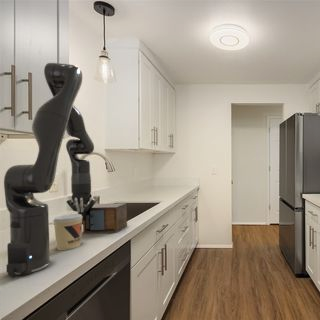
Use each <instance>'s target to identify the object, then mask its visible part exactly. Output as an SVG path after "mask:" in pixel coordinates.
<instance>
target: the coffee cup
mask: <svg viewBox="0 0 320 320" xmlns="http://www.w3.org/2000/svg"><path fill="white" fill-rule="evenodd" d="M53 226H54V235H55V244H56V249H57V250H59V251H66V250H72V249H76V248H77V247H80V246H81V243H82V232H83V221H82V215H81V214H78V213H70V214H63V215H59V216H56V217H55V218H54V219H53Z"/></svg>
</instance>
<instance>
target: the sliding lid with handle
mask: <svg viewBox="0 0 320 320" xmlns="http://www.w3.org/2000/svg"><path fill="white" fill-rule="evenodd" d="M89 218H90V225H89ZM89 227H90V230H105V216H104V210H90V216H89V215H88V216H86V229H89Z"/></svg>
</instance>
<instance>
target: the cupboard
mask: <svg viewBox="0 0 320 320" xmlns="http://www.w3.org/2000/svg"><path fill="white" fill-rule="evenodd" d="M127 205H128V204H127V202H124V203H123V202H122V203H121V202H119V203H95V204H94V205H93V207H92V208H91V209H90V210H104V216H105V230H90V227H89V229H86V219H85V220H83V221H82V233H83V234H111V233H112V234H113V233H114V234H115V233H118V232H120V231H121V230H124V229H126V228H127V227H128V211H127V209H128V208H127ZM90 210H88V211H86V216H88V215H89V216H90ZM89 225H90V218H89Z"/></svg>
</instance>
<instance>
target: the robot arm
mask: <svg viewBox="0 0 320 320" xmlns="http://www.w3.org/2000/svg"><path fill="white" fill-rule="evenodd" d="M43 74H44V78H45V81H46V84H47V86H48V89H49V90H50V93H51V96H52V97H51V98H49V99H48V100H47V101H46V102H44V103H43V104H42V105H41V106H39V107H38V109H37V110H36V112H35V115H34V118H33V121H32V124H31V131H32V134H33V137H34V138H35V141H36V143H37V146H38V152H37V157H36V160H35V162H34V164H16V165H12V166H10V167H9V168H8V169H7V170H6V172H5V174H4V178H3V189H4V190H3V191H4V198H5V199H4V200H5V207H6V210H7V211H8V213H9V235H10V236H9V238H10V239H9V240H10V242H8V243H7V248H6V249H7V251H6V252H7V264H6V273H7V276H11V277H12V278H15V277H17V276H27V275H31V274H33V273H36V272H40V271H41V270H44V269H46V268H48V267H49V266H50V265H51V254H50V253H51V252H50V220H49V218H50V216H49V205H48V203H46V202H43V201H41V200H39V199H38V198H36V197H35V195H34V194H44V193H46V192H48V191H49V190H50V189H51V188H52V186H53V185H54V182H55V179H56V173H57V166H58V161H59V155H60V151H61V147H62V143H63V139H64V137H65V133H66V134H67V135H68V136H69V137H73V138H70V139H68V140H67V141H66V143H65V149H66V152H67V154H68V156H69V161H70V164H71V165H70V166H71V177H70V184H71V185H70V188H71V191H70V192H71V194H72V195H71V197H70V199H69V200H66V204H67V205H68V206H69V207H70V209H71V210H72V211H73V212H76V213H77V214H81V215H82V222H83V220H85V219H86V211H88V210H90V209H91V208H92V207H93V205H94V204H97V199H96V198H93V196H92V194H91V193H92V175H91V162H90V160H88V159H83V158H80V157H79V156H78V155H91V154H93V152H94V151H95V144H94V142H93V139H92V138H91V137H90V135H89V133H88V131H87V129H86V125H85V121H84V118H83V115H82V113H81V112H80V111H79V109H78V108H77V107H76V106H75V105H74V103H75V101H76V98H77V96H78V95H79V92H80V89H81V87H82V83H83V72H82V70H81V69H80V67H79V66H77V65H75V64H70V63H68V64H67V63H60V62H47V63H46V64H45V66H44V69H43Z"/></svg>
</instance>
